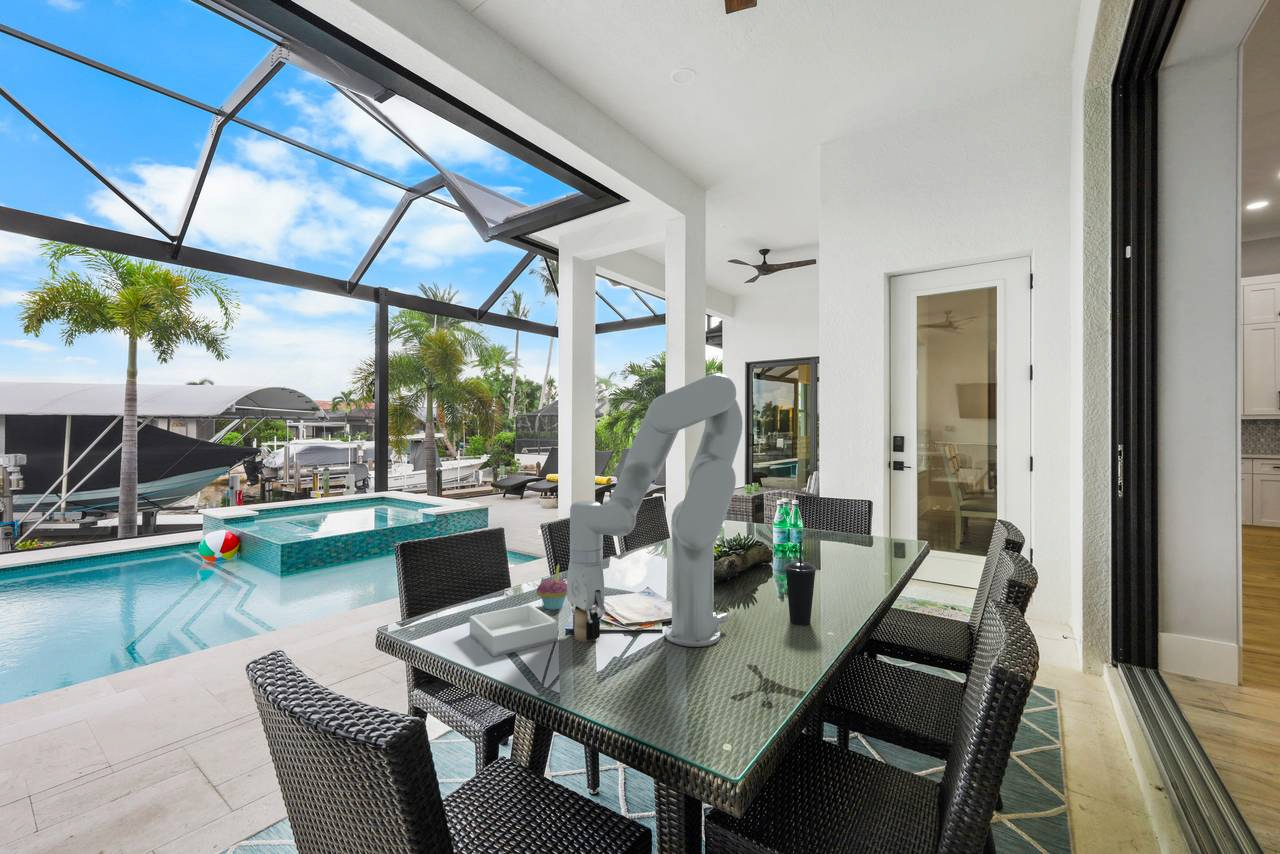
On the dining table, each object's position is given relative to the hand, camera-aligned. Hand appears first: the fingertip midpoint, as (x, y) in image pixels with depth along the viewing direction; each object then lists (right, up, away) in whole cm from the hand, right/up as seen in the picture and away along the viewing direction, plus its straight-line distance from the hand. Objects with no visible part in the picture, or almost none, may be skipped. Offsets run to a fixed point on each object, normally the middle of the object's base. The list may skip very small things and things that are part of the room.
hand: (586, 633), depth 128 cm
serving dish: (-17, -1, -1) cm, 17 cm away
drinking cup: (+52, -1, +10) cm, 53 cm away
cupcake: (-11, -1, +20) cm, 23 cm away
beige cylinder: (0, -1, 0) cm, 1 cm away
